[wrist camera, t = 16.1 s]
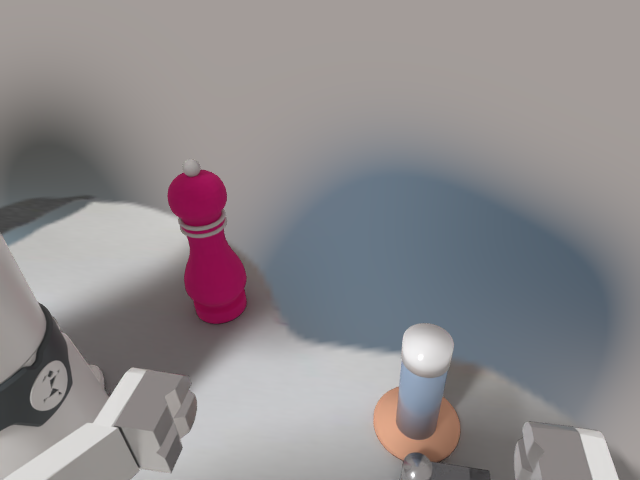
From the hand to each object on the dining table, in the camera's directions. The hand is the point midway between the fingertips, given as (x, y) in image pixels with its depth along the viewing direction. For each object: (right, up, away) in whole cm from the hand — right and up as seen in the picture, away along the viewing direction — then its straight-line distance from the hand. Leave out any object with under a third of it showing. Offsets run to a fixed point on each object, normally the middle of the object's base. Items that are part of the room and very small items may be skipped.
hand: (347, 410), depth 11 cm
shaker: (+8, -13, +32) cm, 36 cm away
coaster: (+8, -13, +32) cm, 36 cm away
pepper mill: (-13, -4, +46) cm, 48 cm away
